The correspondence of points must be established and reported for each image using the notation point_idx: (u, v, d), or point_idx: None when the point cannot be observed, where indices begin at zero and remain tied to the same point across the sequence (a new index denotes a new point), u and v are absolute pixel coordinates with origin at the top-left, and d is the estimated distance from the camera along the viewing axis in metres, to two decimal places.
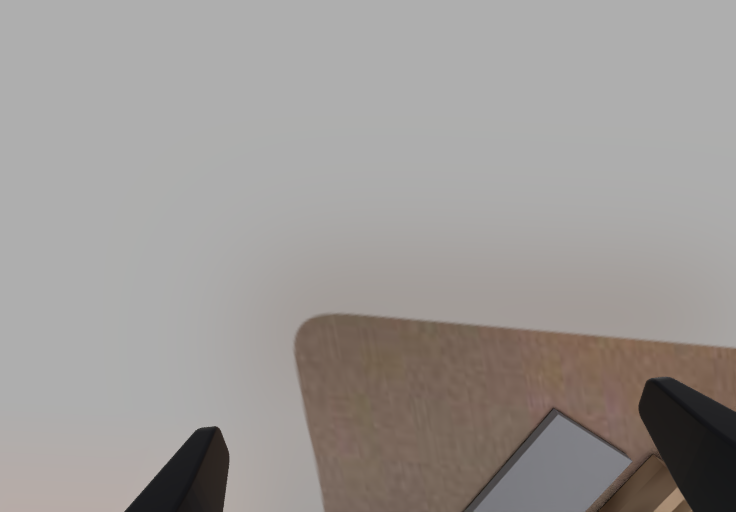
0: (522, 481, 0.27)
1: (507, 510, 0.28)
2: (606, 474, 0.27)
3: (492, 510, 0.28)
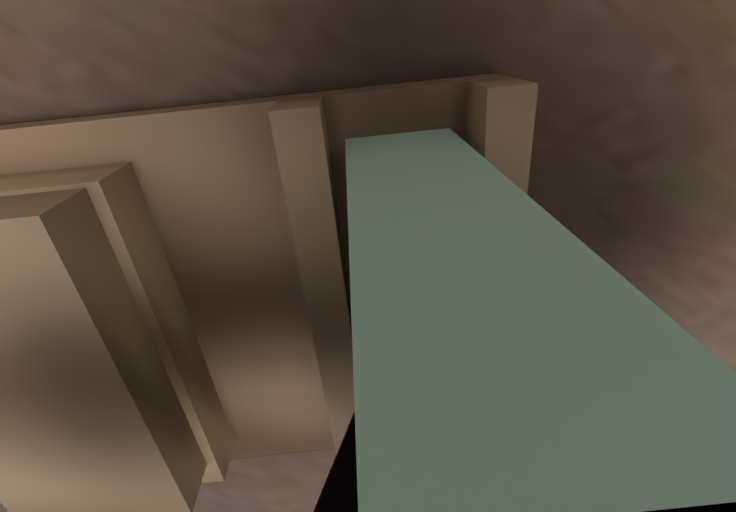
0: None
1: None
2: None
3: None
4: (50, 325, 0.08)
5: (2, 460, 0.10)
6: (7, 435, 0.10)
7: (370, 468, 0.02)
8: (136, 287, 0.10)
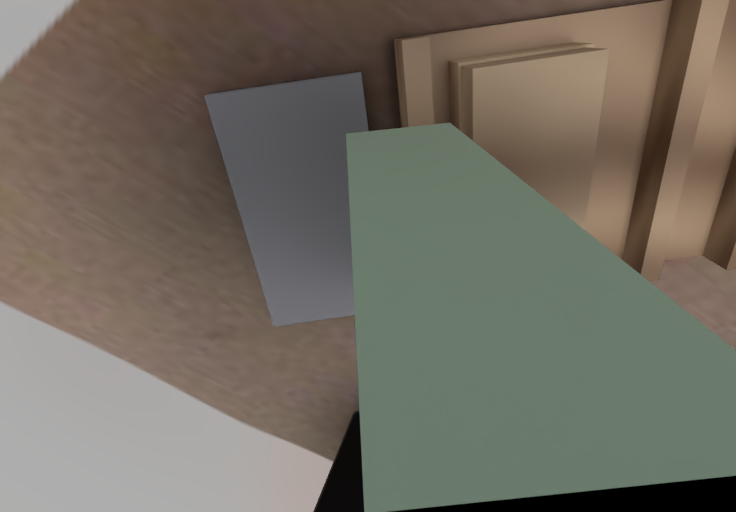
0: (266, 208, 0.19)
1: (290, 250, 0.20)
2: (348, 118, 0.18)
3: (276, 261, 0.21)
4: (576, 122, 0.15)
5: None
6: None
7: (375, 443, 0.02)
8: None
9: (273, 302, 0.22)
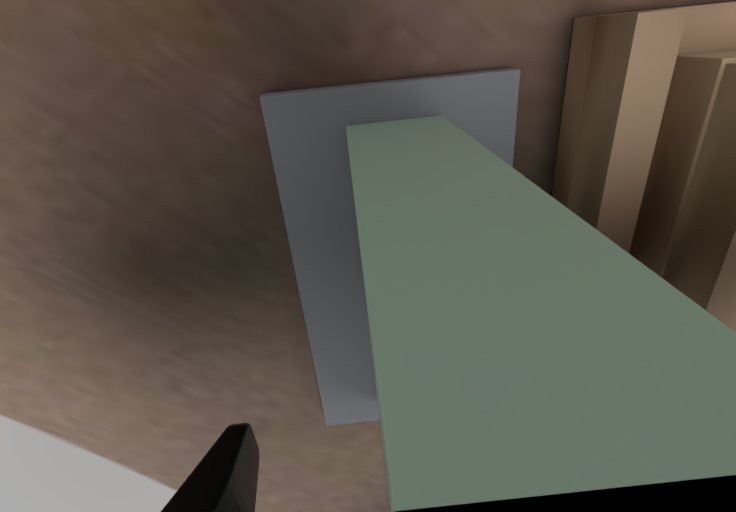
0: (337, 271, 0.13)
1: (365, 329, 0.14)
2: (486, 142, 0.11)
3: (341, 344, 0.14)
4: None
5: None
6: None
7: (383, 341, 0.03)
8: None
9: (330, 395, 0.15)
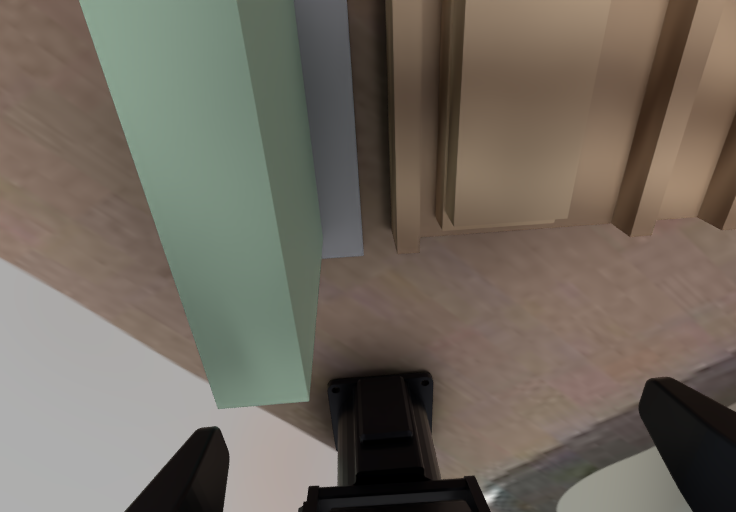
0: None
1: None
2: (327, 21, 0.16)
3: None
4: (579, 29, 0.13)
5: (480, 151, 0.15)
6: (498, 126, 0.15)
7: None
8: None
9: None
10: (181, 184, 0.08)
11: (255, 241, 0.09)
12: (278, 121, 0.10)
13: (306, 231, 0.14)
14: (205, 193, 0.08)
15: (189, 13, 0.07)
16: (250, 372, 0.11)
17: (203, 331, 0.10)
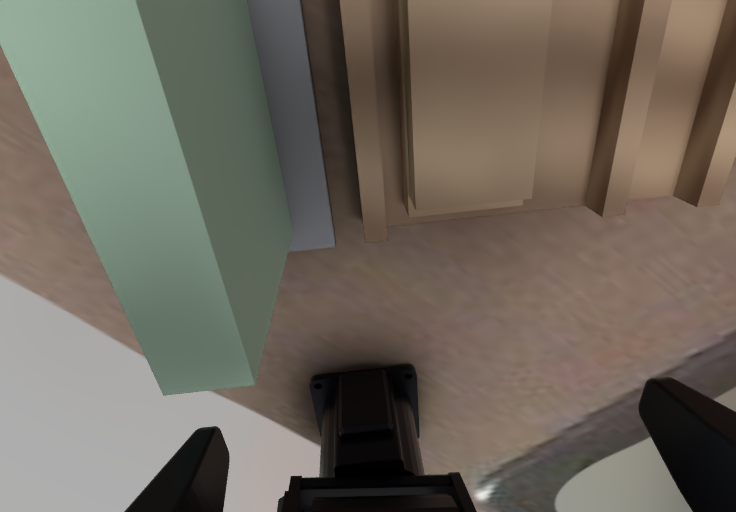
0: None
1: None
2: (280, 9, 0.16)
3: None
4: (525, 2, 0.13)
5: (436, 132, 0.15)
6: (452, 106, 0.14)
7: None
8: None
9: None
10: (95, 160, 0.08)
11: (178, 217, 0.09)
12: (206, 100, 0.10)
13: (258, 217, 0.14)
14: (121, 169, 0.08)
15: None
16: (191, 356, 0.11)
17: (138, 314, 0.10)
